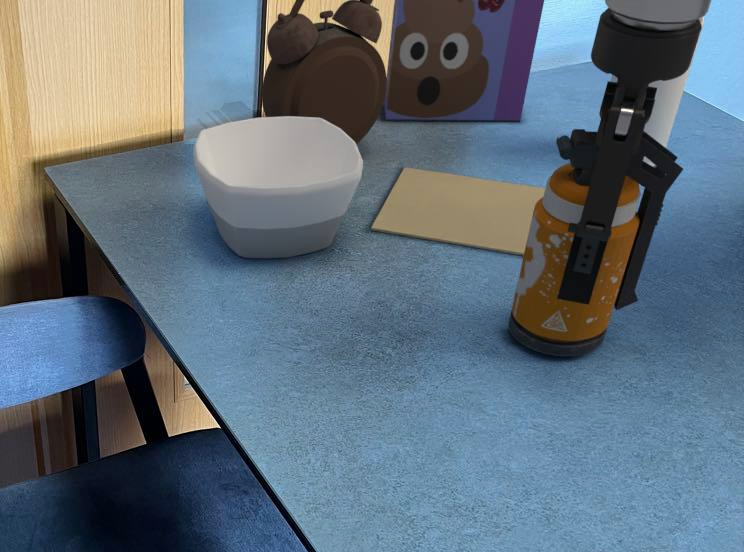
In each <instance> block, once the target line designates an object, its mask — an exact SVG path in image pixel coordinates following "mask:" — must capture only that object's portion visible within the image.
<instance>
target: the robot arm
mask: <svg viewBox="0 0 744 552" xmlns="http://www.w3.org/2000/svg"><path fill="white" fill-rule="evenodd" d="M604 2H605V5H606V6H607V8H606V9H605V10H604V11H602V13H601V14H600V16H599V20H598V24H597V28H596V32H595V35H594V39H593V44H592V48H591V52H590V59H591V62H592V64H593V65H594V66H595V67H596V68H597V69H598V70H600V71H601V72H602V73H605V74H607V75H609V74H610V75H611V76H612V75H614V76H615V77H617V78H618V80H617V82H611V80H610V81H608V80H607V83H606V86H605V91H604V93H603V97H602V98H603V99H602V101H601V105H600V108H599V114H598V115H599V118H600V120H599V124H598V128H597V131H596V132H597V135H596V139H595V143H594V148H595V150H596V151H597V152H598V156H597V160H596V164H595V167H594V171H593V175H592V178H591V182H590V186H589V190H588V193H587V197H586V201H585V204H584V208H583V212H582V216H581V219H580V222H579V223H577V224H576V223H569V227H568V231H567V232H572V233H575V234H574V238H573V241H572V245H571V249H570V252H569V256H568V260H567V264H566V267H565V271H564V275H563V278H562V282H561V286H560V290H559V293H558V297H557V299H561V300H566V301H571V302H577V303H582V304H588V305H589V303H590V299H591V296H592V293H593V289H594V286H595V282H596V279H597V276H598V272H599V269H600V266H601V262H602V259H603V255H604V252H605V249H606V245H607V242H608V240H609V237H611V233H612V231H611V230H612V228H611V226H612V223H613V219H614V216H615V212H616V209H617V205H618V201H619V198H620V194H621V191H622V187H623V184H624V180H625V177H626V173H627V169H628V166H629V162H630V159H631V156H633V155H635V154H636V153H637V151H638V148H639V145H640V142H641V138H642V134H643V131H644V127H645V124H646V123H647V122H648V121H649V119H650V116H651V114H652V110H653V107H654V103H655V95H656V92H657V88H656V87H648V85H649V84H650V83H652V82H655V81H659V80H662V81H667V80H671V79H675V78H677V77H679V76H681V75H683V74H684V73H685V72H686V71H687V70H688V68H689V67H690V64H691V60H692V57H693V54H694V51H695V48H696V45H697V41H698V38H699V35H700V32H701V29H702V30H703V28H702V25H701V23H700V20H699V19H700V18H702V17H705V16H706V15H707V14H708V12H709V9H710V7H711V3H712V0H604ZM701 33H702V32H701ZM700 36H701V35H700ZM699 39H700V38H699ZM697 46H698V45H697ZM696 49H697V48H696ZM695 52H696V51H695Z"/></svg>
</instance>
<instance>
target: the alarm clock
mask: <svg viewBox="0 0 744 552" xmlns="http://www.w3.org/2000/svg"><path fill="white" fill-rule="evenodd" d="M305 1H306V0H295V1H294V3H293V5H292V7H291V9H290V12H289V13H288V14H284V13H282V12H280V13H278V14H277V20H276V21H275V22H274V23H273V24H272V25H271V27H270V29H269V31H268V33H267V36H266V47H267V50H268V54H269V57H270V61H269V62H268V64H267V67H266V69H265V73H264V76H263V79H262V80H263V82H262V87H261V105H262V109H263V113H264V117H284V116H293V117H315V118H322V119H324V120H326V121H328V122H329V123H331V124H333V125H335V126H337V127H339V128H340V129H341V130H343V131H344V132H345V133H346V134H347V135H348V136H349V137H350V138H351V139H352V140H354V141H355V143H356V145H357V144H359V143H360V142H361V141H362V140H363V139H364V138H365V137H366V136H367V135H368V133H369V132H370V131H371V130H372V128H373V126H374V125H375V123H376V122H377V120H378V118H379V116H380V113H381V111H382V109H383V107H384V99H385V94H386V84H387V81H386V78H387V70H386V66H385V63H384V61H383V58H382V56H381V55H380V53H379V51H378V50H377V48H376V47H374V45H372V44H371V43H374V44H377V43H378V41H379V39H380V35H381V32H382V28H383V20H382V17H381V15H380V13H379V11H380V9H379V8H377V7H376V6H374V5H372V3H373V2H374V0H346V1H344V2H342V3H341V5H339V7H338V8H337V9H336V11H335V12H334V11H333V10H331V9H330V10H324V11H321V12H320V13H319V18H320V19H322V20H324V21H321V22H314V23H313V21H312V20H311V19H310V18H309V17H308V16H306V14H303V13H299V12H300V10H301V8H302V7H303V5H304V3H305ZM330 18H331V20H332V21H334V22H335V23H334V22H328V19H330ZM337 23H338V24H337ZM369 41H370V42H371V43H370V42H369Z"/></svg>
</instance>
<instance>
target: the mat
mask: <svg viewBox="0 0 744 552" xmlns="http://www.w3.org/2000/svg"><path fill="white" fill-rule="evenodd" d="M545 188H546V187H540V186H533V185H526V184H519V183H514V182H507V181H500V180H493V179H487V178H481V177H475V176H467V175H461V174H455V173H448V172H447V173H446V172H440V171H433V170H427V169H419V168H413V167H407V166H404V167H403V169H402V171H401V173H400V175H399V176H398V178H397V180H396V182H395V183H394V185H393V187H392V189H391V190H390V192H389V195H388V196H387V198H386V200H385V201H384V203H383V205H382V207H381V209H380V211H379V212H378V214H377V216H376V218H375V219H374V222H373V223H372V225H371V227H370V231H374V232H380V233H386V234H392V235H398V236H403V237H409V238H416V239H423V240H426V241H427V240H428V241H434V242H440V243H445V244H451V245H458V246H463V247H469V248H476V249H480V250H487V251H493V252H498V253H499V252H500V253H506V254H512V255H517V256H522V257H523V256H524V252H525V247H526V243H527V238H528V234H529V229H530V225H531V221H532V216H533V212H534V207H535V204H536V203H537V201H538V200H540V199H541V198H542V197H543V196H544V192H545Z"/></svg>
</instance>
